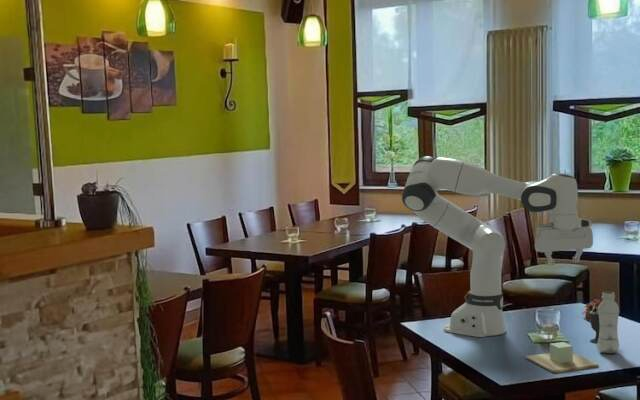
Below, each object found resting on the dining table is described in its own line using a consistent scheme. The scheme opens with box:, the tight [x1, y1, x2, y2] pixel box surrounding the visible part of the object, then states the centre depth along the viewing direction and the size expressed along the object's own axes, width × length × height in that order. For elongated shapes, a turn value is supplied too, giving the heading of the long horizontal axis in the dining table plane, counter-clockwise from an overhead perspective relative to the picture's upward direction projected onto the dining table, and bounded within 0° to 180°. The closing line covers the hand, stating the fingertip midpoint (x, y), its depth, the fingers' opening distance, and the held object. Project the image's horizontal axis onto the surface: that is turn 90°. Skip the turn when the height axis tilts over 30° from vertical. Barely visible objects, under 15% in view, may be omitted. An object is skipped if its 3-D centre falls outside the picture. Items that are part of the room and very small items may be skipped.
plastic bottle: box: [596, 291, 620, 354], centre depth 253 cm, size 6×7×20 cm
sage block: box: [549, 341, 574, 363], centre depth 245 cm, size 5×5×5 cm
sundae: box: [588, 298, 603, 344], centre depth 266 cm, size 7×7×15 cm
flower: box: [581, 298, 603, 319], centre depth 296 cm, size 10×9×8 cm
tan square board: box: [525, 352, 600, 374], centre depth 246 cm, size 16×16×1 cm
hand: (563, 263), depth 258 cm, fingers open, 8 cm apart
